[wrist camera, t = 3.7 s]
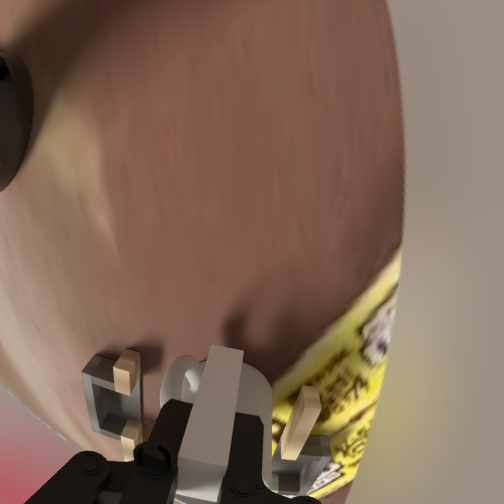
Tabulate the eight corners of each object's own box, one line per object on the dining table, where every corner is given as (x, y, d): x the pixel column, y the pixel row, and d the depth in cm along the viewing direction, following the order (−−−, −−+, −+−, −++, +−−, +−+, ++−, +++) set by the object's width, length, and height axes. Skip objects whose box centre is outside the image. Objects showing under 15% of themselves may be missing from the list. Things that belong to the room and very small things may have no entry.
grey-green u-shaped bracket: (93, 338, 27) (78, 355, 24) (352, 390, 27) (358, 411, 24) (111, 461, 33) (105, 476, 30) (290, 497, 34) (290, 514, 31)
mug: (284, 411, 28) (287, 505, 18) (206, 427, 29) (187, 513, 19) (236, 312, 25) (218, 410, 15) (148, 338, 26) (97, 425, 16)
